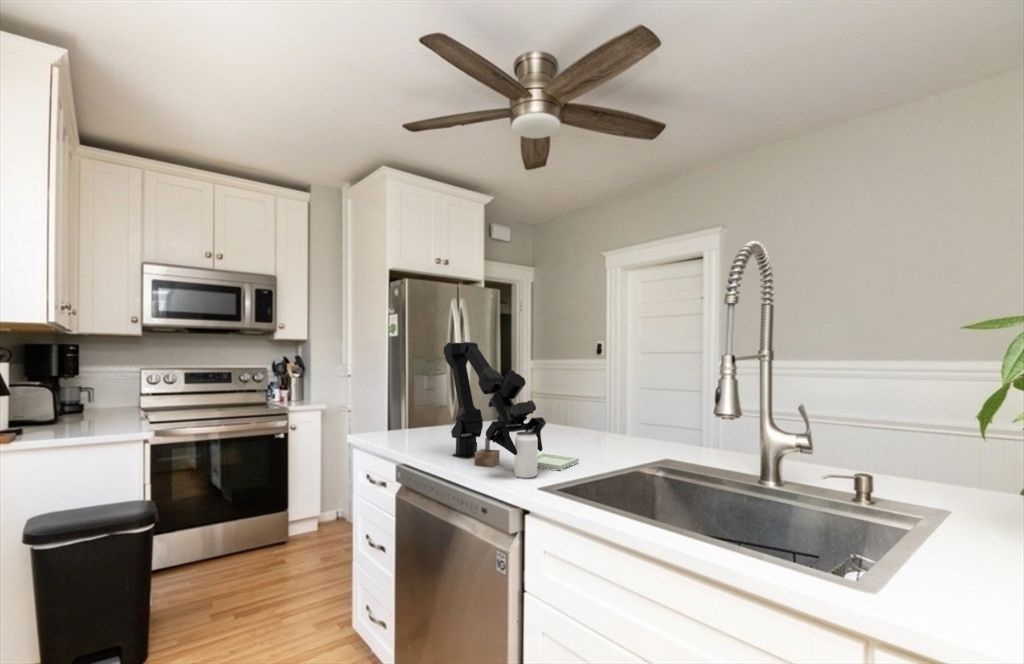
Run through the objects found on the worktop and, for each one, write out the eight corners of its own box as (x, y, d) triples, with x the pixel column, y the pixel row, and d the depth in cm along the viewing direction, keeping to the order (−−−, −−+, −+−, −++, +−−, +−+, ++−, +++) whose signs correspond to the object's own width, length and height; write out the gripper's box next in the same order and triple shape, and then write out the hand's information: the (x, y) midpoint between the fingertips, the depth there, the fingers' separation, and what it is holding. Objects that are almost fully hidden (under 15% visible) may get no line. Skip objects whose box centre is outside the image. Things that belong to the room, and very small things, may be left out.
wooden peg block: (474, 465, 150) (475, 438, 150) (481, 461, 155) (482, 435, 156) (492, 467, 148) (493, 440, 148) (499, 463, 153) (499, 437, 154)
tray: (522, 465, 151) (522, 459, 151) (542, 457, 162) (542, 453, 162) (560, 471, 144) (560, 465, 144) (578, 463, 155) (578, 458, 155)
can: (532, 472, 142) (533, 430, 143) (540, 477, 136) (541, 434, 137) (511, 473, 140) (512, 431, 141) (518, 479, 134) (519, 435, 135)
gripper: (491, 392, 137) (515, 438, 127) (542, 390, 148) (567, 431, 139) (476, 417, 143) (497, 462, 133) (525, 413, 154) (548, 455, 145)
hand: (529, 452), depth 137 cm, fingers open, 9 cm apart
